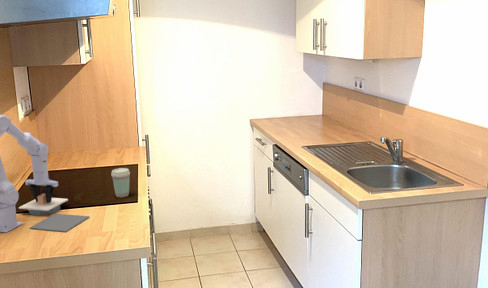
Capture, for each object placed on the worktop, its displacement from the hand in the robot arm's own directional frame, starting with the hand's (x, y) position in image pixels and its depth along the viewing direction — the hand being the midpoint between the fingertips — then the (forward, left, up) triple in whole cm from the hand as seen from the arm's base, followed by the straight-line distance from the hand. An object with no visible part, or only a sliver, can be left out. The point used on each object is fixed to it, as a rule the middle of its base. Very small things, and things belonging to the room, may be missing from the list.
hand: (43, 201), depth 214 cm
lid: (0, 0, -1) cm, 1 cm away
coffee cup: (+25, -23, -4) cm, 34 cm away
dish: (0, 0, -4) cm, 4 cm away
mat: (-12, -16, -4) cm, 20 cm away
